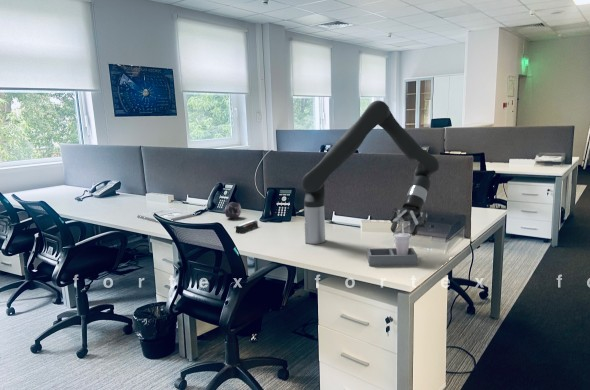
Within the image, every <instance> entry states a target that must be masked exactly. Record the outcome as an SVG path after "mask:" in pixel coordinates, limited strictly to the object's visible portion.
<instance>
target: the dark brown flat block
mask: <svg viewBox="0 0 590 390" xmlns="http://www.w3.org/2000/svg"><path fill="white" fill-rule="evenodd" d="M258 224H259V223H258V220H254V219H253V220H249V221H246V222H244V223H241V224H238V225H236V226H234V227H233V228H234V229H235V234H243V233H245V232H248V231H250V230H252V229H256V228H258V227H259V225H258Z"/></svg>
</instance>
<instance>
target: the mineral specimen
mask: <svg viewBox="0 0 590 390" xmlns="http://www.w3.org/2000/svg"><path fill="white" fill-rule="evenodd" d="M241 214H242V207H241V204H240V202H235V201H231V202H229V203H227V204H226V206H225V208H224V215H225V217H226V218H229V219H237V218H239V217H240V215H241Z"/></svg>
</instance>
